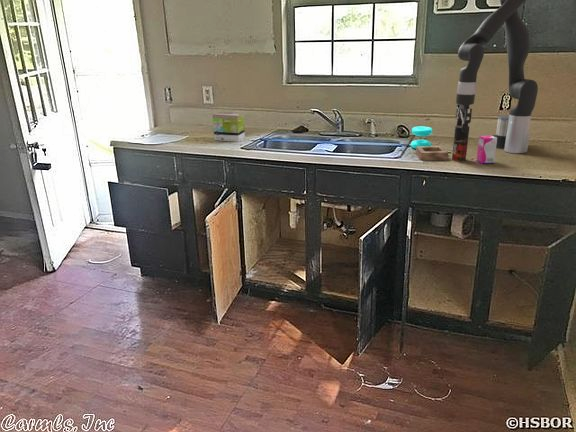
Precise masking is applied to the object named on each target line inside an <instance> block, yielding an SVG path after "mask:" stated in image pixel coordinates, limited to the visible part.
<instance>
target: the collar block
mask: <svg viewBox="0 0 576 432" xmlns="http://www.w3.org/2000/svg"><path fill="white" fill-rule="evenodd" d="M415 155H416V156H417V158H418V159H419V160H420V161H448V157H449V152H448V151H447V149H445V148H444V146H443V145H437V146H436V145H435V146H434V145H431V146H421V147H416V149H415Z"/></svg>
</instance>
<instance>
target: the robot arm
mask: <svg viewBox="0 0 576 432" xmlns="http://www.w3.org/2000/svg"><path fill="white" fill-rule="evenodd" d="M526 1H527V0H499V2H500V7H499V8H497V9H495V11H493V12H492V13H490V14H489V15H488V16H487V17H486V18H485V19H484V20H483V22H482V23H481V24H480V25H479V26H478V28H477V30H476V31H475V32H474V33H473V34H471V35H470V37H468V38H467V39H465V41H464V42H462V44H461V45H460V47H459V48H458V52H457V56H458V59H460V61H463V62H468V63H467V65H466V66H465V67H462V68H460V69H459V75H458V76H459V78H458V84H457V88H456V96H455V104H456V112H455V118H456V125H455V126H460V125H462V132H467V130H468V126H469V124H470V123H471V122H472V121H471V120H472V111H473V109H472V108H470V106H471V105H474V103H475V99H476V98H475V97H476V91H477V79H478V77H477V76H478V72H479V69H480V66H481V64H482V61H483V59H484V55H485V49H484V47H483V46H484V45H487V44H488V43H490V41H491V40H492V39H493V37H494V36H495V35H496V34H497V32H498V31H499V30H500V29H501V27H502V26H504V31H505V32H504V33H505V43H506V44H505V45H506V52H507V63H508V92H509V96H510V98H512V99H515V100H517V104H516V105H515V106H514V107H511V108H510V109H509V114H508V116H509V119H508V126H507V133H506V140H505V147H504V149H503V151H504V152H506V153H509V154H524V153H528V149H529V142H530V135H531V132H530V126H531V125H530V124H531V117H532V114H533V113H532V112H533V110H534V108H535V105H536V103H537V102H536V101H537V96H538V92H539V91H538V90H539V87H538V83H537V81H535V80H534V79H528V78H527V79H526V78H525V71H524V69H525V68H524V67H525V63H526V60H527V58H528V55H529V53H530V50H531V39H530V32H529V29H528V27H527V26H526V23H524V21H523V20H522V18H521V16H520V15H519V11H518V9H519V8H520V7H521V6H522V5H523V4H524V3H525V2H526Z"/></svg>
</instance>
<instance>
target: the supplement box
mask: <svg viewBox="0 0 576 432" xmlns="http://www.w3.org/2000/svg"><path fill="white" fill-rule="evenodd" d="M477 143H478V144H477V155H476V162H477V163H479V164H481V165H492V164H493V165H495V161H496V160H495V159H496V152H497V148H496V144H497V138H496V137H494V136H492V135H479V136H478V142H477Z"/></svg>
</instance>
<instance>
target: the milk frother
mask: <svg viewBox="0 0 576 432" xmlns="http://www.w3.org/2000/svg"><path fill="white" fill-rule="evenodd" d="M508 119H509V115H499V116H497V125H496V133H495V135H494V134H493V135H491V136H494V137H496V138H497V144H496V149H501V150H504V147H505V140H506V133H507V126H508Z"/></svg>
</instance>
